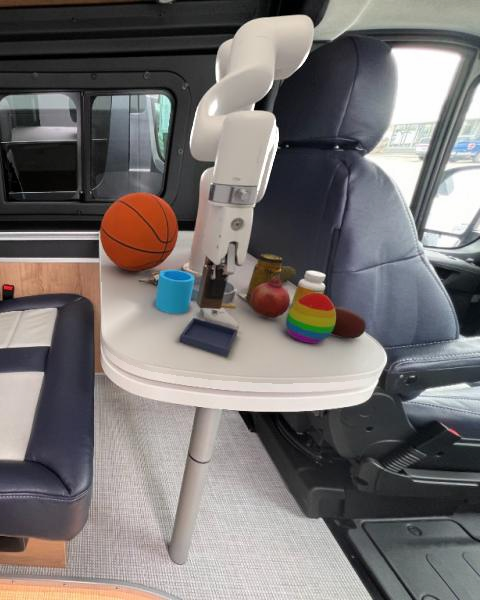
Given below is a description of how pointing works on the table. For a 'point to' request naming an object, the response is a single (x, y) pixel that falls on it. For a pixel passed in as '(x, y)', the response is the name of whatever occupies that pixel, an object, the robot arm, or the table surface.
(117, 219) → the basket ball
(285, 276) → the hand grenade
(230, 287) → the bowl
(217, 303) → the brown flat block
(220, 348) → the tray
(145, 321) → the table surface
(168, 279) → the mug
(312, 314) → the decorative egg
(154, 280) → the computer mouse
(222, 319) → the gaming controller
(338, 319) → the potato
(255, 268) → the condiment
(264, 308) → the fruit
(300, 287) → the supplement bottle
